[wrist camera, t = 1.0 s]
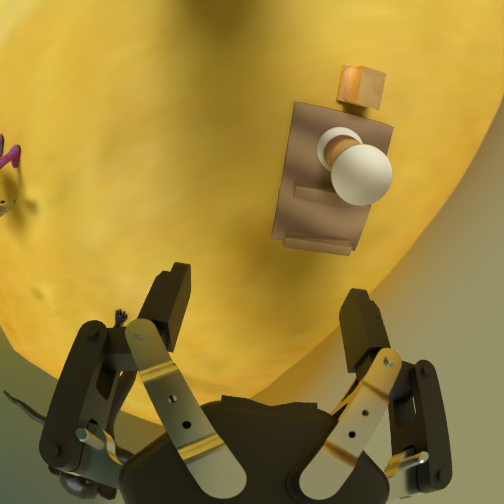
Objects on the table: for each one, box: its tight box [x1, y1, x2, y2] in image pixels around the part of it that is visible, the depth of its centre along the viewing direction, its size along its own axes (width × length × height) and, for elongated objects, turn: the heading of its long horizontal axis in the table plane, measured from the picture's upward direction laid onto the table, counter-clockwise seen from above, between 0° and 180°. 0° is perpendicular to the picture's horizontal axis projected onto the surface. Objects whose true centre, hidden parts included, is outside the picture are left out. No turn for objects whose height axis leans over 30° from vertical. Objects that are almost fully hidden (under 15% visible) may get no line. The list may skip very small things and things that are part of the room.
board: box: [272, 102, 394, 256], centre depth 28 cm, size 18×12×10 cm, turn 173°
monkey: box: [4, 309, 137, 500], centre depth 39 cm, size 40×20×40 cm, turn 68°
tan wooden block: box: [336, 65, 386, 110], centre depth 22 cm, size 4×4×6 cm
